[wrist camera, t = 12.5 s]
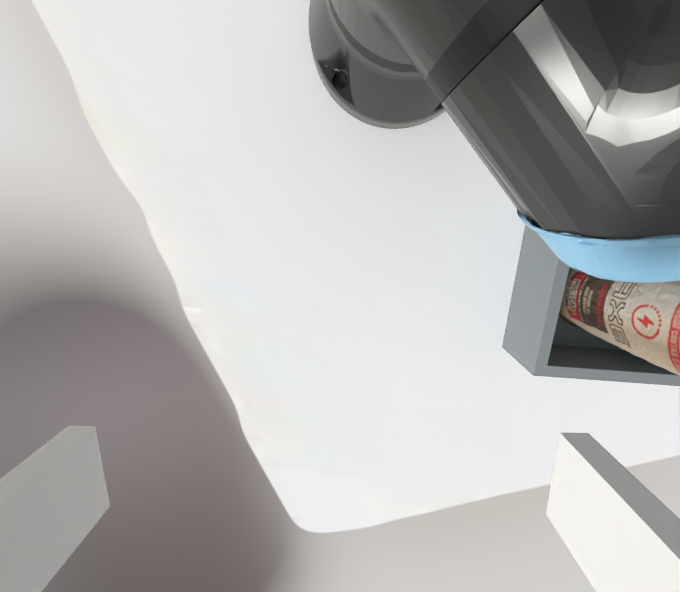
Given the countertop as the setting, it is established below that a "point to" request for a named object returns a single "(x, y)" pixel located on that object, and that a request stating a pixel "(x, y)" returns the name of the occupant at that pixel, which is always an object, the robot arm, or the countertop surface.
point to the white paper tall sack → (627, 315)
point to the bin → (563, 328)
